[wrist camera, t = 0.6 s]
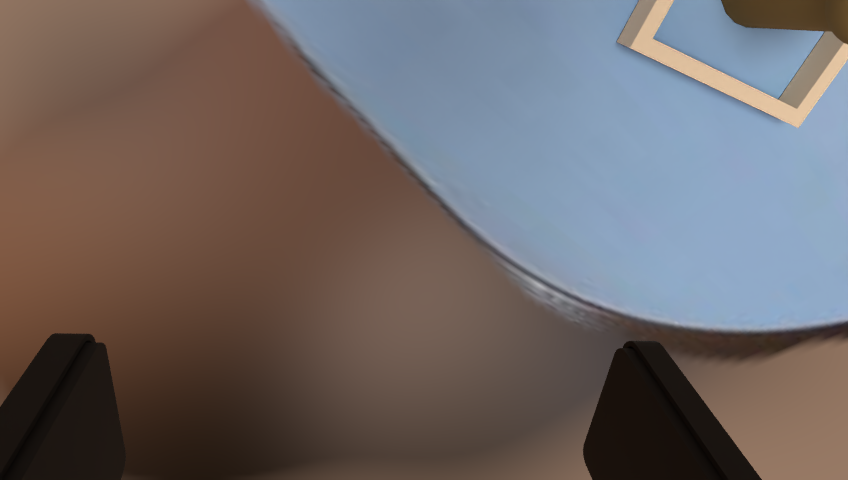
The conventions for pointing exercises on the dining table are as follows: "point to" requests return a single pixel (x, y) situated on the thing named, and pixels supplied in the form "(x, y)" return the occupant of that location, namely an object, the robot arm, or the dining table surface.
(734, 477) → the robot arm
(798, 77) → the beige square frame
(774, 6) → the brown rounded piece
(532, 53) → the dining table surface
